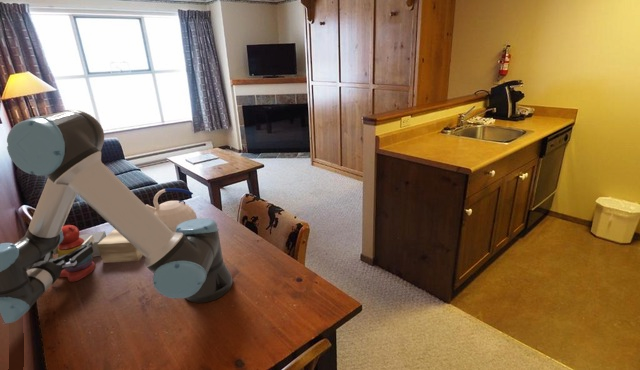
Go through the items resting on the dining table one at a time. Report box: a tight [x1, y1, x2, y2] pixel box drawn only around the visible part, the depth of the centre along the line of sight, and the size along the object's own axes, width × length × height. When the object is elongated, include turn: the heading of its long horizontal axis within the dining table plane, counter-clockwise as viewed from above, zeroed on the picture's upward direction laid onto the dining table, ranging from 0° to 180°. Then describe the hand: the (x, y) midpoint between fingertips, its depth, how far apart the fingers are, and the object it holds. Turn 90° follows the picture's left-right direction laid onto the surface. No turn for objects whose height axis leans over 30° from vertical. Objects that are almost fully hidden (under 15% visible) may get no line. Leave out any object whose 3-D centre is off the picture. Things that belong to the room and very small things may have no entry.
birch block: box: [97, 228, 144, 264], centre depth 130 cm, size 13×13×8 cm
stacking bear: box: [57, 224, 96, 283], centre depth 117 cm, size 11×10×18 cm
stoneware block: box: [79, 230, 107, 258], centre depth 132 cm, size 9×9×6 cm
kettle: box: [145, 187, 198, 233], centre depth 147 cm, size 20×21×18 cm
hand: (78, 240), depth 121 cm, fingers closed on stacking bear, 9 cm apart
